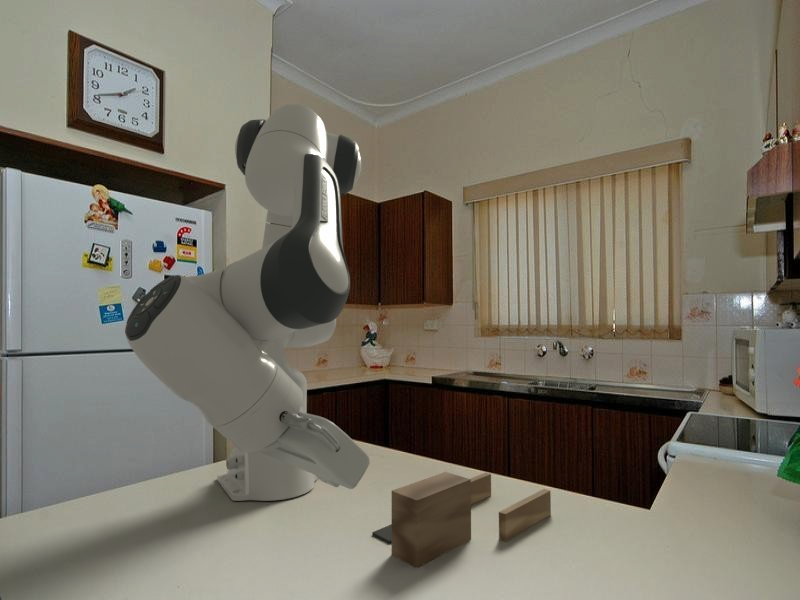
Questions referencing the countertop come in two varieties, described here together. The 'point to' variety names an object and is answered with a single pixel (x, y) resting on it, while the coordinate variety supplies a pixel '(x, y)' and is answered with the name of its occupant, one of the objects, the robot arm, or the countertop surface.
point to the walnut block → (430, 518)
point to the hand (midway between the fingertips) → (334, 479)
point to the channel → (513, 508)
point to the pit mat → (384, 534)
